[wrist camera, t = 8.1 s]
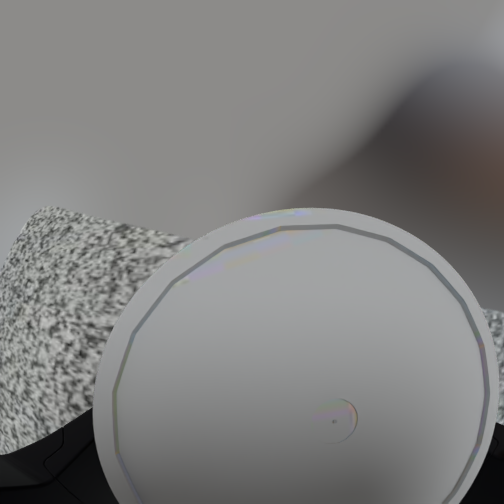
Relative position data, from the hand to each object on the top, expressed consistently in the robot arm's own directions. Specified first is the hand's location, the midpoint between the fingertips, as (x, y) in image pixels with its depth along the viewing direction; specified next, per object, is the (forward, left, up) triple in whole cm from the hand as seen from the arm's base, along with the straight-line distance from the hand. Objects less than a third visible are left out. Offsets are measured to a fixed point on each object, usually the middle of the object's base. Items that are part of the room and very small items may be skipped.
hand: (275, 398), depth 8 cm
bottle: (0, 0, -9) cm, 9 cm away
